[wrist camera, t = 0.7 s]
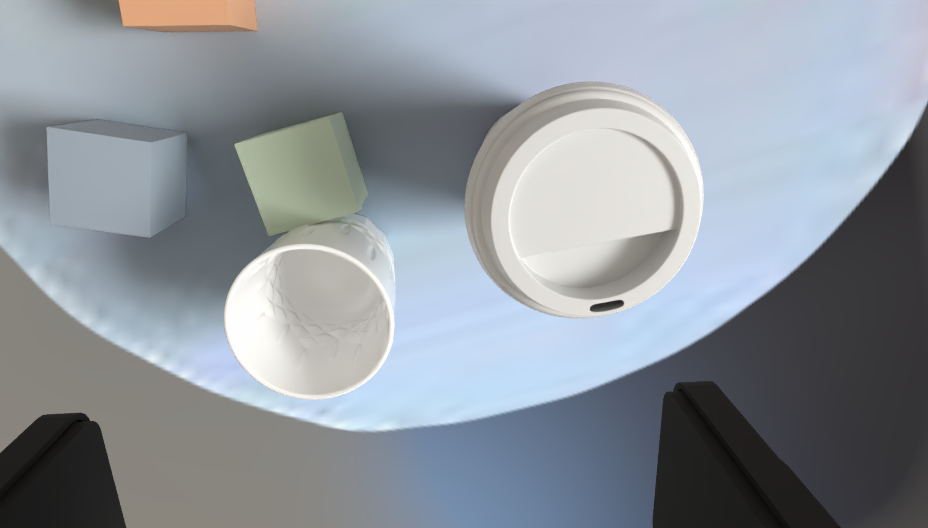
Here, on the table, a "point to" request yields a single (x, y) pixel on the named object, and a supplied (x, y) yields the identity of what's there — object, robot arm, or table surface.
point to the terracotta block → (189, 15)
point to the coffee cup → (584, 200)
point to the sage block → (303, 173)
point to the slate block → (116, 177)
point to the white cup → (315, 309)
